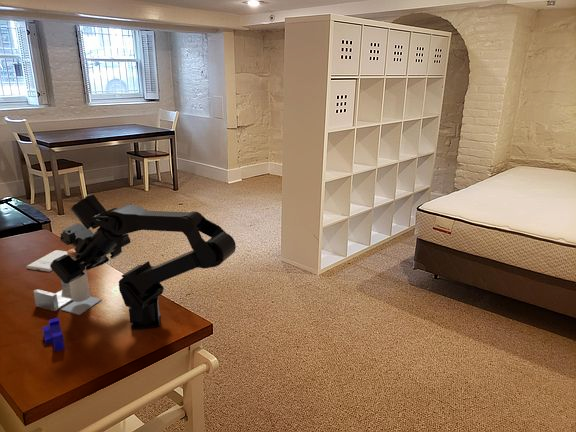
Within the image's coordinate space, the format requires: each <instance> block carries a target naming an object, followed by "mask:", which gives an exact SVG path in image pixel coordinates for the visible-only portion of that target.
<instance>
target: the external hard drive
mask: <svg viewBox="0 0 576 432" xmlns="http://www.w3.org/2000/svg"><path fill="white" fill-rule="evenodd" d="M67 251H68V250H67ZM67 251H65V250H58V249H55V250H54V251H51V252H49V253H48V254H46V255H44V256H43V257H41V258H38V259H37V260H35V261H33V262H31V263H30V264H28V265H26V269H28V270H29V269H30V270H34V271H40V272H41V271H42V272H48V273H49V272H51V271H53V270H52V268H51V267H50V264H51V263H52V262H53V260H55V259H57V258H59V257H61V256H63V255H66V254H67Z"/></svg>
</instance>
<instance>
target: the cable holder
mask: <svg viewBox="0 0 576 432" xmlns="http://www.w3.org/2000/svg"><path fill="white" fill-rule="evenodd" d="M48 323H49V325H45V326H42V333H43V338H44V343H45V345H48V344H53V349H54V352H58V351H62V350H65V349H66V346H65V341H64V335H63V331H62V330H61V329H62V328H61V325H60V319H59V317H54V318H51V319H48Z"/></svg>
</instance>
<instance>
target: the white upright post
mask: <svg viewBox="0 0 576 432" xmlns="http://www.w3.org/2000/svg"><path fill="white" fill-rule="evenodd" d="M75 248H76V247H75ZM75 248H71V249H68V250H67V254H66V255H69V256H70V257H71V258H72V259H73V260H77V259H76V258H75V256H76V255H78V254H79V253H76V251H75V250H74V249H75ZM79 259H80V258H79ZM82 264H83V263H82ZM83 272H84V273H85V275H83V276H81V277H79V278H77V279H75V280H74V281H72V282H70V283H69V284H70V291H71V297H72V300H73V301H76V302H79V301H84V300H87V299H88V298H89V297H91V293H90V286H89V280H88V270H86V267H85V270H84V271H83ZM73 301H72V302H73Z"/></svg>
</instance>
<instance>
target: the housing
mask: <svg viewBox="0 0 576 432" xmlns="http://www.w3.org/2000/svg"><path fill="white" fill-rule="evenodd" d="M60 283H61V290H58V291H57V292H50V291H46V290H42V289H34V290H33V296H34V303H35V307H36V308H37V307H38V308H42V309H45V310H49V311H53V312H57V311H58V310H61V309H62V308H64V307H65V306H67V305H69V304H70V303H72V302H73V300H72V297H71V291H70V284H69V283H68V284H66V283H64V282H63V281H62V280H61V279H60Z"/></svg>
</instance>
